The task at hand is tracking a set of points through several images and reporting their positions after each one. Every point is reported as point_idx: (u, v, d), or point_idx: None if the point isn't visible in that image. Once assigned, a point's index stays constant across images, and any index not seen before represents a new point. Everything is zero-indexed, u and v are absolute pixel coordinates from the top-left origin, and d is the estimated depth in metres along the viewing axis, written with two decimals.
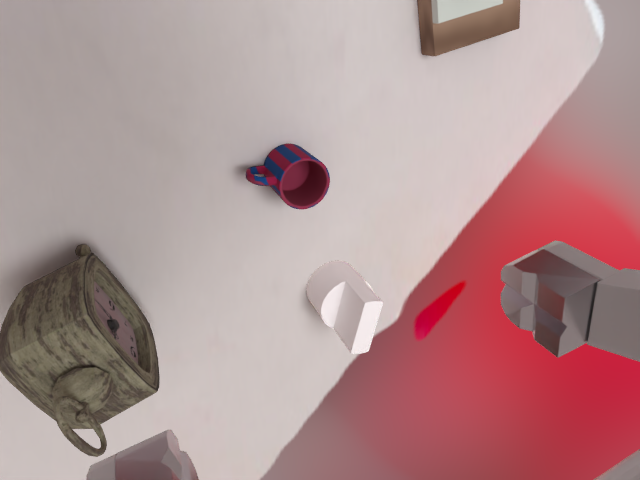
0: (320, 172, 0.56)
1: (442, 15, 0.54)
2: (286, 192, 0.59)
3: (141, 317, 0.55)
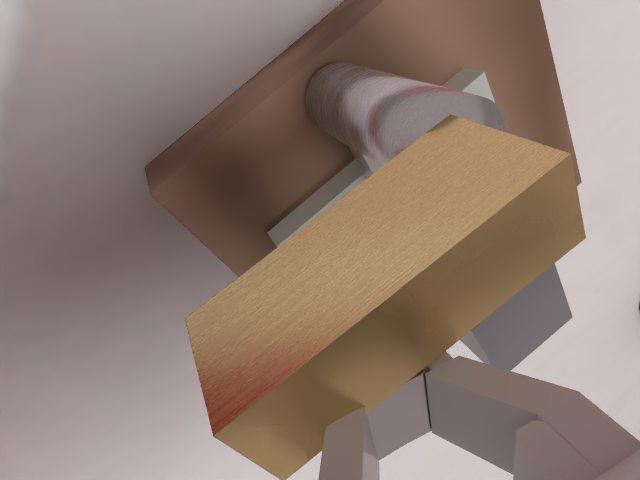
0: None
1: None
2: None
3: None
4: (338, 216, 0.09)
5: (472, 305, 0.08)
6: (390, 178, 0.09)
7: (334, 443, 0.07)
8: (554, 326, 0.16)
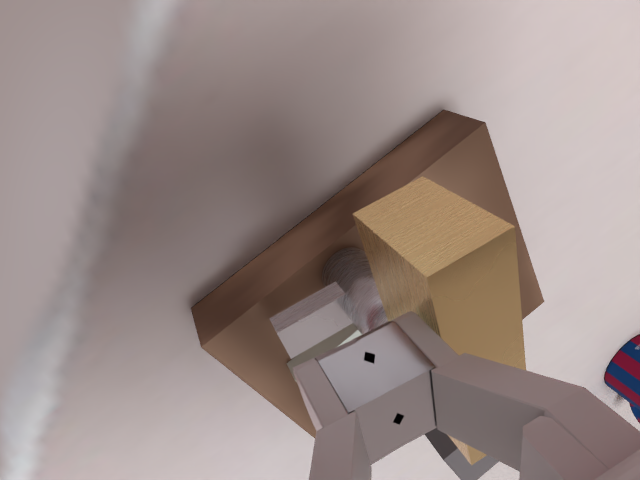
0: None
1: None
2: None
3: None
4: None
5: None
6: None
7: (324, 448, 0.07)
8: None
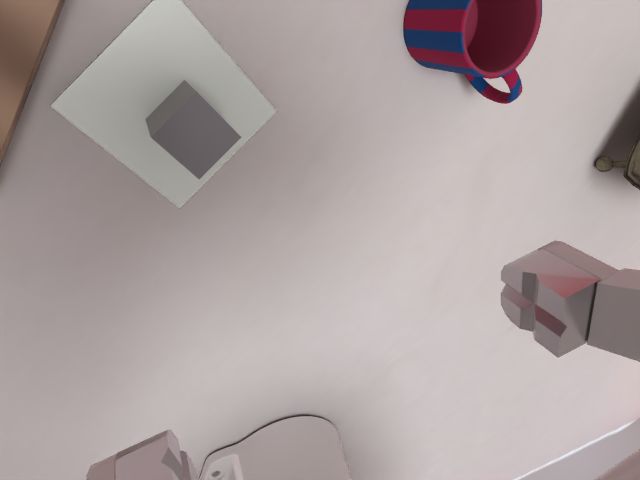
0: None
1: (263, 112, 0.31)
2: (483, 1, 0.33)
3: None
4: None
5: None
6: None
7: None
8: (228, 142, 0.26)
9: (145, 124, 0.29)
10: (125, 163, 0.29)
